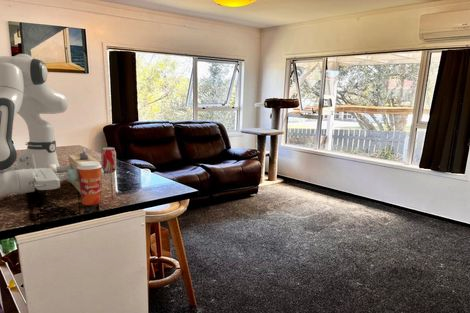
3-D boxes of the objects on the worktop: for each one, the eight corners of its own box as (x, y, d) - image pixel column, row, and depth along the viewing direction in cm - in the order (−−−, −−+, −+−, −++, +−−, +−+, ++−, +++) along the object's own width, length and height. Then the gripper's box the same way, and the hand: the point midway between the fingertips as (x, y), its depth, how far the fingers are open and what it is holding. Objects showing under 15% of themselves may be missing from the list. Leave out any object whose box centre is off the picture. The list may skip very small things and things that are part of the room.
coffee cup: (81, 207, 116) (79, 166, 113) (76, 201, 122) (74, 162, 119) (106, 203, 121) (104, 164, 118) (100, 197, 127) (98, 160, 124)
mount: (81, 194, 130) (79, 165, 128) (70, 181, 147) (68, 155, 145) (102, 191, 135) (101, 163, 133) (89, 179, 152) (87, 153, 150)
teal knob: (70, 183, 129) (69, 171, 128) (68, 180, 133) (67, 168, 132) (104, 179, 137) (104, 167, 136) (101, 176, 140) (100, 165, 140)
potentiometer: (78, 159, 138) (77, 149, 137) (83, 158, 141) (83, 148, 140) (85, 160, 137) (84, 149, 136) (90, 158, 140) (89, 148, 139)
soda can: (111, 173, 164) (110, 149, 162) (99, 172, 166) (98, 148, 163) (119, 170, 171) (118, 147, 169) (107, 169, 172) (106, 146, 170)
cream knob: (49, 177, 136) (48, 166, 135) (47, 175, 140) (46, 163, 139) (82, 174, 143) (82, 163, 142) (80, 171, 147) (79, 160, 146)
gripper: (30, 178, 113) (73, 174, 122) (24, 166, 129) (63, 163, 138) (31, 196, 115) (74, 190, 123) (26, 182, 131) (64, 178, 139)
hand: (68, 176), depth 130 cm, fingers closed, pressing on teal knob
